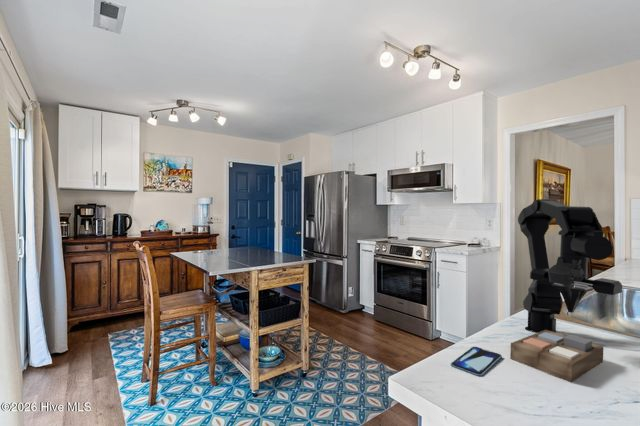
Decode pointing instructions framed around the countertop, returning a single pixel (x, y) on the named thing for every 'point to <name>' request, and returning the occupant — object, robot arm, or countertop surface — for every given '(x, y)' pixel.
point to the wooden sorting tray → (556, 358)
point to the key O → (578, 343)
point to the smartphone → (476, 361)
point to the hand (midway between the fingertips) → (570, 312)
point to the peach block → (537, 343)
